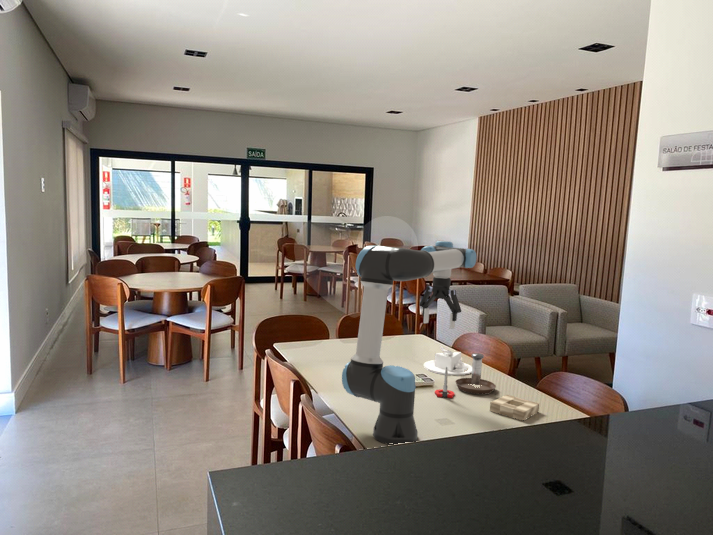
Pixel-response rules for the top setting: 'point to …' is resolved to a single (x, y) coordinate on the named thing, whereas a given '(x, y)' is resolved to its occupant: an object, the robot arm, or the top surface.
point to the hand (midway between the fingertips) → (438, 325)
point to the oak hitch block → (514, 407)
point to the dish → (448, 363)
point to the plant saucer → (484, 389)
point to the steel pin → (476, 368)
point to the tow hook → (445, 389)
